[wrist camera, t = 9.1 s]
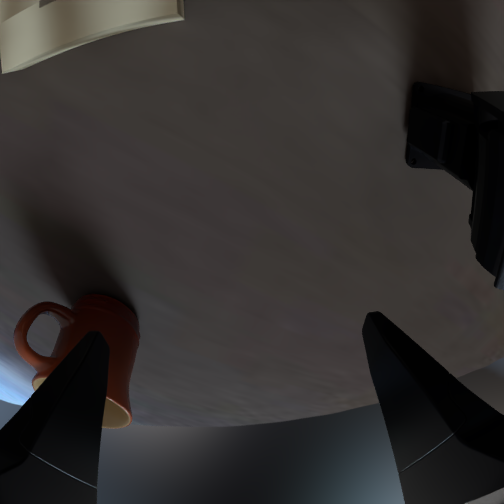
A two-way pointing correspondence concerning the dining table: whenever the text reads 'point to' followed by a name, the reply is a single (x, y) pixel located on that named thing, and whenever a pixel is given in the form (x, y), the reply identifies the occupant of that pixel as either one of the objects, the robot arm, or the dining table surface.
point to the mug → (73, 330)
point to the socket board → (72, 25)
